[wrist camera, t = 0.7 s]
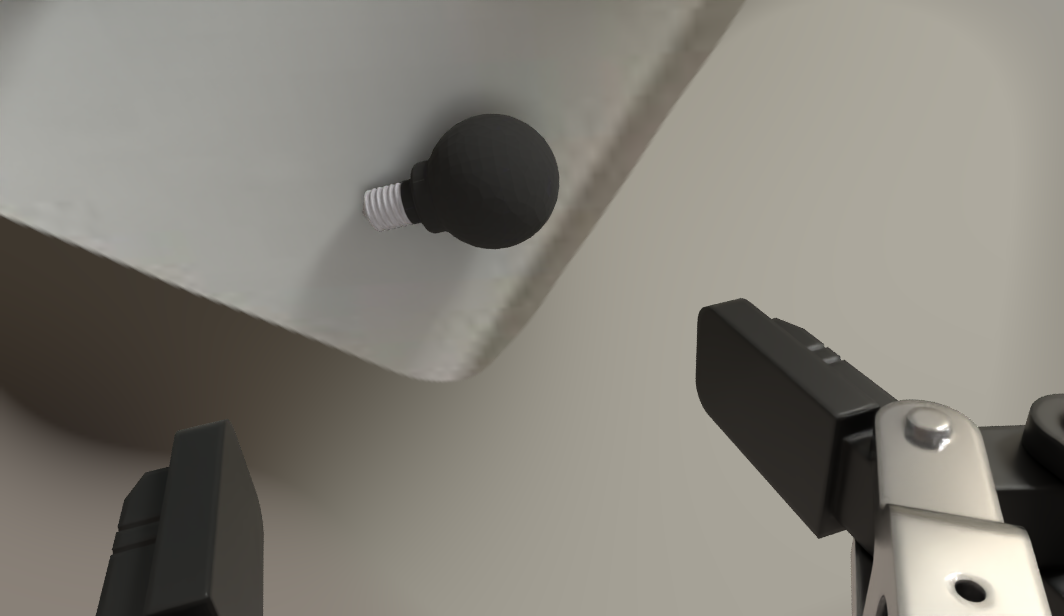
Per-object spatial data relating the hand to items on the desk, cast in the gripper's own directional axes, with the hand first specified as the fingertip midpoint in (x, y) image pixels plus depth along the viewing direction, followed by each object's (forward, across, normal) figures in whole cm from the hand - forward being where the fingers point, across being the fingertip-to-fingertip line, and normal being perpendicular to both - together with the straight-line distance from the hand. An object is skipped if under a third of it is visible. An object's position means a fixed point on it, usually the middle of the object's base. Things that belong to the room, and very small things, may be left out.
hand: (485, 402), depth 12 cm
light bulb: (+27, -5, +5) cm, 28 cm away
